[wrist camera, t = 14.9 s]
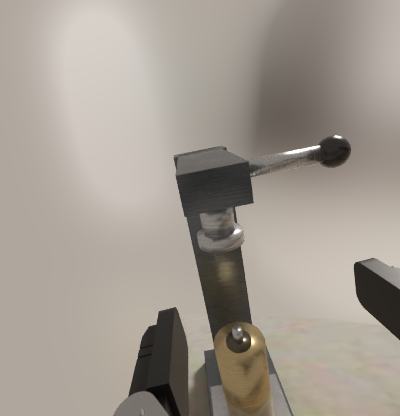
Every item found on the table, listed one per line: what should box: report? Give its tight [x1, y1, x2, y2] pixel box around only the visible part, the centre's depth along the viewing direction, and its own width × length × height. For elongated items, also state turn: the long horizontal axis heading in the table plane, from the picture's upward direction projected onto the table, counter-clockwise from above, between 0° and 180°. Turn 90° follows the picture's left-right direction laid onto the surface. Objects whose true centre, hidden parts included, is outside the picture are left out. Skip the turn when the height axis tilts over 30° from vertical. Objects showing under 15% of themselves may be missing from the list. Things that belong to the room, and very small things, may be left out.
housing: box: [214, 322, 274, 416], centre depth 27 cm, size 5×5×14 cm
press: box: [174, 136, 351, 416], centre depth 27 cm, size 18×18×34 cm
